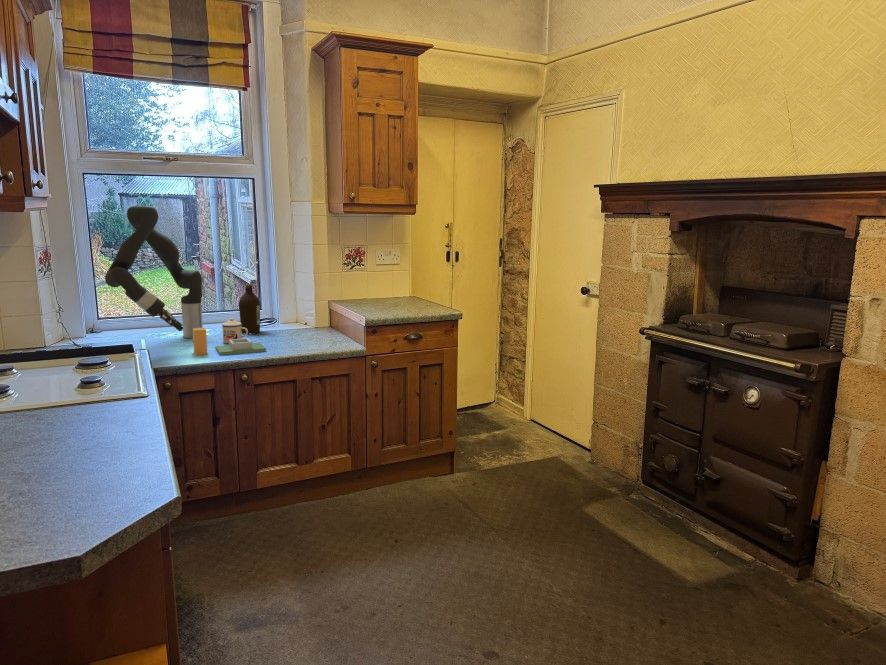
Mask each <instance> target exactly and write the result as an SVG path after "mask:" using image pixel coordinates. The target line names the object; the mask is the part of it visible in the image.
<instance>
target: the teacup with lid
mask: <svg viewBox="0 0 886 665" xmlns="http://www.w3.org/2000/svg"><path fill="white" fill-rule="evenodd" d="M241 325H242V324H241V323H240V322H239V321H237V320H235V319H234V317H230V318H229V319H228V320H227V321H224V322H223V323H222V324H221V327H222V341H223V343H224V344H227V343H228V344H227V345H229V340H231V339H244V338H245V337H246V338H247V335H249V334H248V330H247V329H246V328H245V327H241ZM241 329H245V330H246V334H244V335H242V334H243V333H242V330H241Z"/></svg>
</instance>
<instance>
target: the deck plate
mask: <svg viewBox="0 0 886 665" xmlns="http://www.w3.org/2000/svg"><path fill="white" fill-rule="evenodd" d="M214 347H215V348H214V349H215V351H216V352H217V353H218V355H219V356H230V355H240V354H241V355H242V354H253V353H254V352H255V353H265V352H264V351H266V350H267V348H266V347H265V345H263V344H262V343H261V342H252V341H251V339H249V338H248V337H246V338H245V337H243V338H242V339H231V340H229V344H227V345H226V344H225V345H215V346H214ZM266 352H267V351H266Z"/></svg>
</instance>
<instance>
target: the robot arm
mask: <svg viewBox="0 0 886 665" xmlns="http://www.w3.org/2000/svg"><path fill="white" fill-rule="evenodd" d="M126 217H127V220H128V223H130V225H131V226H132V227H133V229H134V230H135V231H134V232H132V234H130V236H128V237H127V238H126V239H125V240H124V241H123V242H122V243H121V245H120V246H119V249H118V251H117V253H116V255H115V256H114V259H113V262H112V263H111V264H110V266H109V268H108V270H107V271H106V273H105V275H104V276H105V277H104V281H105V284H106V285H107V286H109V287H111V288H118V287H122V289H124V293H125V295H126V297H127V298H128V299H130V300H131V301H132V302H134V303H135V304H136V305H137V306H138V307H139V308H141V309H142V310H143V311H145V312H146V313H147V314H149V315H150V316H151V317H152V318H154V317H156V316H157V315H158V316H159V318H160V319H161V320H163V321H164V322H165V323H166V324H168V325H169V326H171V327H173V328H174V329H176V330H177V331H179V332H182V336H183V338H184V339H193V328H204V327H203V309H202V297H203V277H202V274H201V273H200V272H199V271H198V270H191V269H184V268H183V266H182V265H181V264H180V262H179V260H180V251H179V248H178V247H177V246H176V244H175V243H174V241H173V240H172V239H171V238H170V237H168V236H167V235H165V233H162V232H161V231H159V230H158V229H157V228H155V227H156V225H157V224H158V222H159V213H158V211H157V209H156V208H155V207H154V206H151V205H133V206H130V207H128V209H127V211H126ZM145 242H146V243H147V244H148V245H149V246H150V247H151V249H152V250H153V252H154V253H155V255H156V256H157V258H159V260H160V261H161V262H162V264H163V265H164V266H165V267H166V269H167V270H168V272H169V274H170V275H171V277H172V279H173V280H174V282H175V284H176V285H177V286H178V287H179V288H181V289H186V290H188V294H186V295H182V296H181V297H180V305H181V307H180V308H181V320H182V323H181V322H180V321H178V320H177V319H176V318H175V317H174V316H173V314H172V313H170V312H169V310H167V309H165V306H166V303H165V302H163V301H162V300H161V299H160V298H158V297H157V295H155V294H154V293H152V292H150V291H149V290H148V289H146V288H145V287H144V286H143V285H141V284H140V283H139V282H138V281H137V279H136V278H135V277H134V276H133V274H132V273H130V271H129V269H130V268H131V267H132V266H133V265H134V263H135V260H136V258H137V255H138V254H139V251H140V250H141V248H142V246H143V245H144V243H145Z"/></svg>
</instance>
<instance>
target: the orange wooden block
mask: <svg viewBox="0 0 886 665" xmlns="http://www.w3.org/2000/svg"><path fill="white" fill-rule="evenodd" d="M207 340H208V338H207V329H206V327H203V328H193V338H192V342H193V354H194V356H195V355H196V356H197V355H199V354H200V355H207V354H208V342H207Z"/></svg>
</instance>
